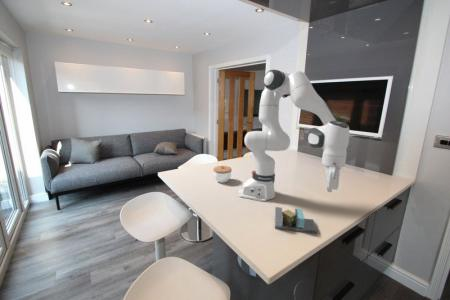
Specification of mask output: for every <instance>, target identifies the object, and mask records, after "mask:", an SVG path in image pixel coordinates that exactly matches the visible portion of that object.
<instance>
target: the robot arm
mask: <svg viewBox="0 0 450 300" xmlns="http://www.w3.org/2000/svg"><path fill="white" fill-rule="evenodd" d="M262 83H263V86H264V87H265V89H263V90H262V92H261V94H260V95H261V97H260V100H259V107H258V108H259V109H258V121H259V122H260V124H262V125H264V126H265V127H267V128H268V130H267V131H266V130H252V131H248V132H247V133H246V134H245V136H244V139H243V140H244V145H245V146H246V148H247V149H249V151H250V152H251V153H252V154H253V157H254V159H255V169H252V171H251V177H250V178H248V179H247V180H245V181H244V182H243V184H242V186H241V187H239V189H238V192H237V193H238V194H237V195H238V196H239V197H240V198H244V199H249V200H254V201H259V202H266V201H268V200H272V199H275V197H276V192H275V181H276V173H275V168H276V161H275V159H274V158H273V157H271V156H270V155H269V154H267V153H266V151H271V152H281V151H287V150H288V149H289V147H290V145H291V138H290V136H289V135H288V133H287V132H285V131H284V129H283V128H282V127H281V124H280V119H279V118H280V116H279V115H280V99H282V98H284V99H285V98H288V97H290V98H291V102H292V103H293V104H294V106H295V107H296V108H298V109H300V110H303V111H307V112H310V113H311V114H312V113H313V114H314V115H316V116H317V117H318V118H319V119H320V121H321V122H322V124H323V125H321V126H316V127H312V128H310V129H309V131H308V133H307V137H306V139H307V143H308V145H309V146H310V147H311V148H314V149H322V150H323V151H322V158H321V164H322V165H324V174H325V179H326V190H327V192H328V193H332V192H333V190H336V191H337V190H338V188H339V182H340V175H341V173H340V172H341V171H340V170H341V169H342V168H344V167H346V161H347V148H348V146H349V142H350V127H349V125H348V124H347V123H346V122H343V121H339V120H338V118H337V117H336V115H335V114H334V113H333V111H332V109H331V108H330V106H329V104H328V103H327V102H326V101H325V99H323V98H322V97H321V96H320V95H319V94H318V93H317V91H316V90H315V88H314V87H313V84H312V83H311V81H310V79H309V78H308V76H307V75H306V73H304V72H303V71H302V70H297V71H294V72H291V73H288V72H284V71H282V70H281V71H280V70H279V69H270V70H268V71H267V72H266V73H265V74H264V77H263V81H262Z"/></svg>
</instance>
